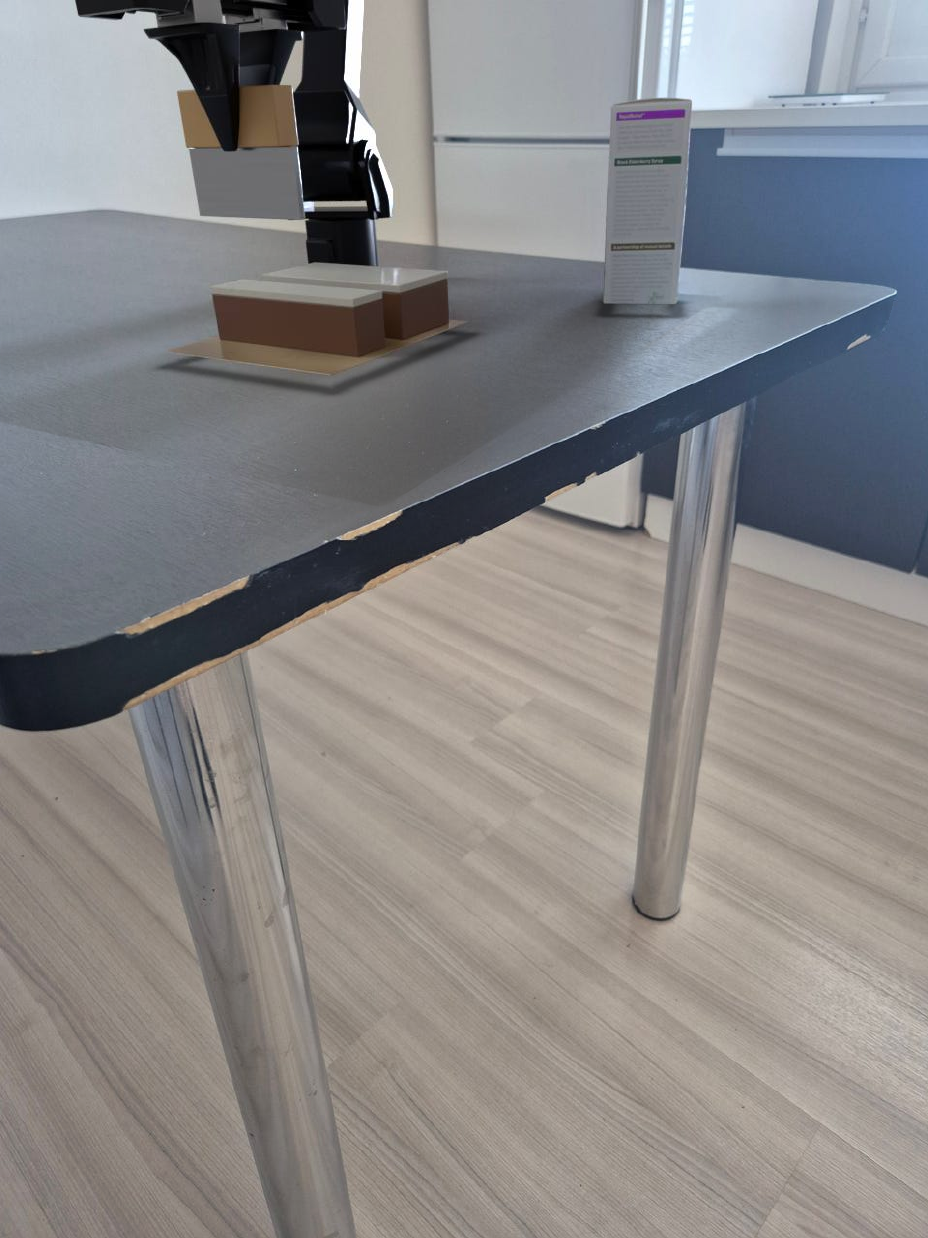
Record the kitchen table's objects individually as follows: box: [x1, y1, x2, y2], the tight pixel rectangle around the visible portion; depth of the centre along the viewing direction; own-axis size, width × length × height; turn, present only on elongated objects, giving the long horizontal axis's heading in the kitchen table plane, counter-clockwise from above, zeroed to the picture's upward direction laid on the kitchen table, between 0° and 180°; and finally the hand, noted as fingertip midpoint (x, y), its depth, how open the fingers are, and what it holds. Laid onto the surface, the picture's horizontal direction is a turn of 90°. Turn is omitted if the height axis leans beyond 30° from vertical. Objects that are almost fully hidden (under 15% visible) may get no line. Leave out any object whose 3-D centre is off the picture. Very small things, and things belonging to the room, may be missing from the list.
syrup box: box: [602, 97, 693, 305], centre depth 64 cm, size 6×6×14 cm
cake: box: [261, 262, 450, 340], centre depth 61 cm, size 6×12×4 cm, turn 59°
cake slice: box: [210, 278, 386, 357], centre depth 56 cm, size 3×12×4 cm, turn 59°
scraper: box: [176, 84, 306, 221], centre depth 59 cm, size 10×2×8 cm, turn 58°
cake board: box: [165, 319, 469, 376], centre depth 59 cm, size 16×14×1 cm
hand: (242, 150), depth 59 cm, fingers closed on scraper, 2 cm apart
